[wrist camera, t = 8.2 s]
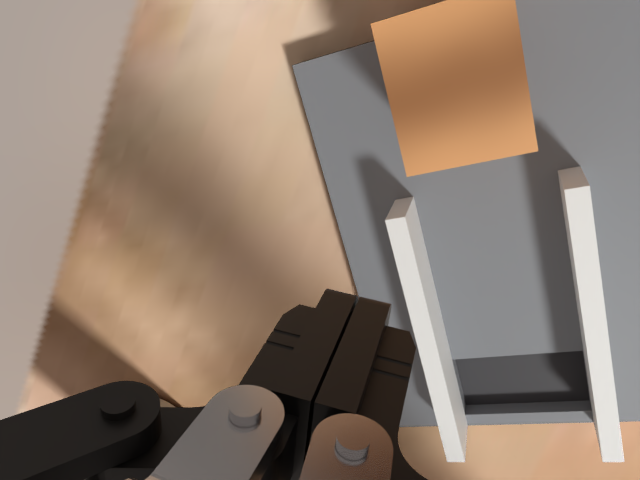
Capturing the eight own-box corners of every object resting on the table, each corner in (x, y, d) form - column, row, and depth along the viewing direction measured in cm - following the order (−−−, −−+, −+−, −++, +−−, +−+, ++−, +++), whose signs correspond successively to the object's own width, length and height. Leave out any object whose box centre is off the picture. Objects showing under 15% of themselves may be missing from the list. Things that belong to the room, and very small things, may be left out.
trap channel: (680, 405, 30) (705, 462, 26) (399, 414, 36) (388, 461, 32) (644, -40, 23) (672, -47, 19) (299, 62, 29) (270, 72, 25)
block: (530, 119, 25) (538, 151, 20) (424, 142, 27) (406, 177, 22) (508, -17, 24) (511, -21, 18) (397, 17, 25) (370, 23, 20)
